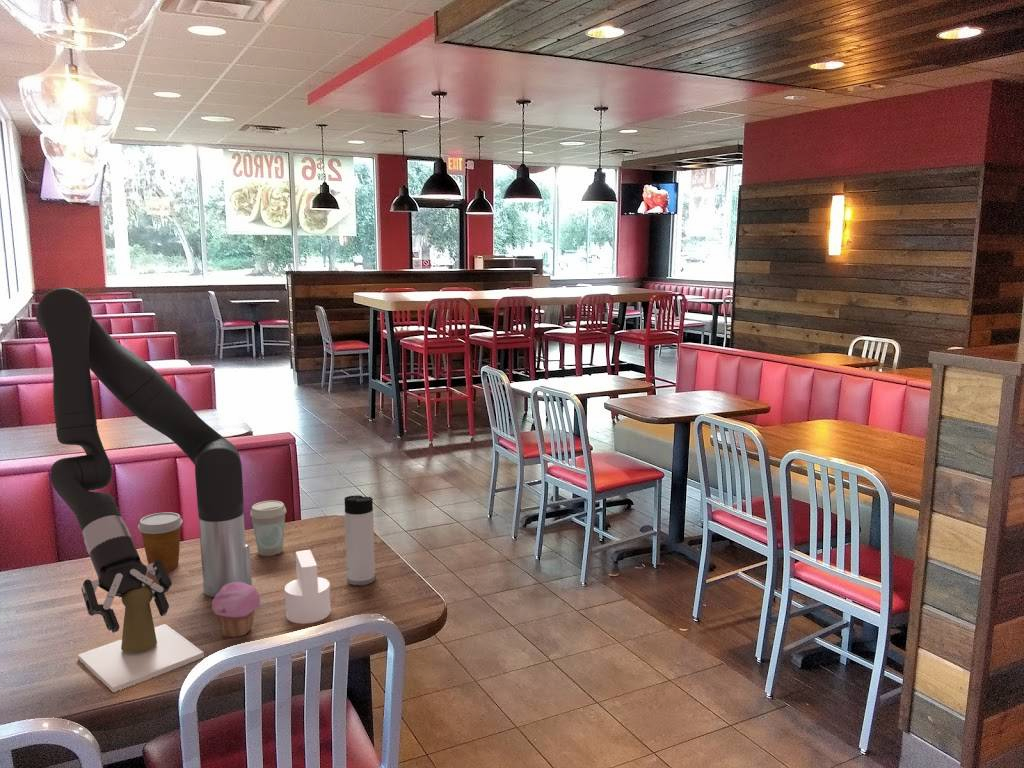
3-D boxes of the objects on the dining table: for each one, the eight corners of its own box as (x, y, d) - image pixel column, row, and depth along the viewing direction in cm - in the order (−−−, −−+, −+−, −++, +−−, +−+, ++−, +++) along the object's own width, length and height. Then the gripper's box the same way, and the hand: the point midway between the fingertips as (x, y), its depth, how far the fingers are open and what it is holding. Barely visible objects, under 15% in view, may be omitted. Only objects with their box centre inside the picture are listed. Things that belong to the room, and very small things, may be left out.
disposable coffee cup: (194, 564, 185) (190, 516, 183) (157, 578, 177) (153, 528, 175) (169, 555, 190) (166, 508, 188) (133, 569, 182) (128, 520, 180)
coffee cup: (247, 558, 189) (244, 511, 187) (258, 545, 197) (256, 499, 195) (282, 558, 189) (280, 511, 187) (292, 545, 197) (290, 499, 195)
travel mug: (340, 583, 175) (337, 498, 171) (357, 572, 181) (354, 490, 178) (364, 588, 173) (361, 502, 169) (380, 576, 179) (378, 493, 175)
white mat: (165, 628, 154) (165, 623, 154) (203, 657, 144) (203, 652, 144) (78, 659, 143) (77, 654, 143) (113, 693, 132) (112, 687, 132)
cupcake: (227, 620, 158) (224, 574, 156) (268, 622, 157) (266, 576, 155) (206, 642, 149) (202, 593, 147) (249, 645, 148) (246, 596, 146)
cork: (143, 652, 141) (141, 591, 141) (113, 651, 142) (111, 591, 142) (163, 640, 147) (161, 582, 147) (135, 639, 148) (132, 582, 148)
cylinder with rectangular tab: (283, 607, 164) (280, 553, 161) (326, 600, 167) (324, 547, 165) (289, 626, 155) (286, 570, 153) (334, 618, 159) (332, 563, 157)
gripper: (73, 546, 139) (104, 627, 134) (153, 525, 150) (185, 599, 144) (65, 566, 144) (95, 645, 138) (144, 544, 154) (174, 617, 148)
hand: (141, 622), depth 141 cm, fingers open, 8 cm apart
